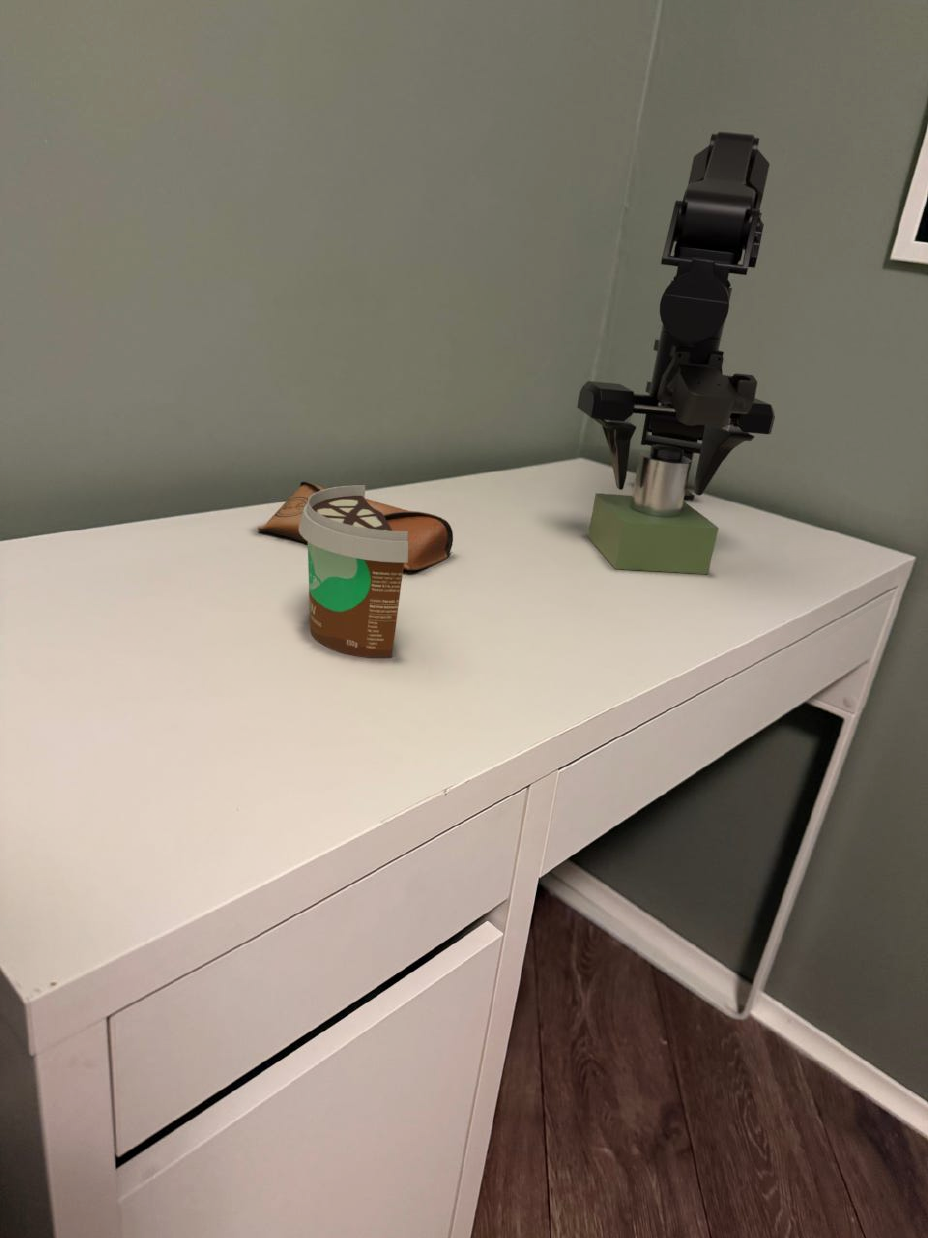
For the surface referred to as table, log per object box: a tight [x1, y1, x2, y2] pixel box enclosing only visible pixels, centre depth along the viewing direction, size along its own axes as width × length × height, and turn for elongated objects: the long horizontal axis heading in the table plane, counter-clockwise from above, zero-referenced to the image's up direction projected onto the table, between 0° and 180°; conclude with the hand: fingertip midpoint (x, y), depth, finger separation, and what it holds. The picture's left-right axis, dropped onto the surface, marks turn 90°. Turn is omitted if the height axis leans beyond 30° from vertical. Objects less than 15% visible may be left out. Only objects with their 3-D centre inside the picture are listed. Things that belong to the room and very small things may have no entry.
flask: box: [630, 444, 693, 517], centre depth 91 cm, size 5×5×6 cm
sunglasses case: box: [257, 481, 454, 572], centre depth 87 cm, size 18×7×7 cm
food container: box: [298, 484, 408, 659], centre depth 66 cm, size 12×6×10 cm, turn 21°
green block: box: [587, 492, 719, 575], centre depth 94 cm, size 10×10×5 cm
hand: (658, 491), depth 92 cm, fingers open, 8 cm apart
